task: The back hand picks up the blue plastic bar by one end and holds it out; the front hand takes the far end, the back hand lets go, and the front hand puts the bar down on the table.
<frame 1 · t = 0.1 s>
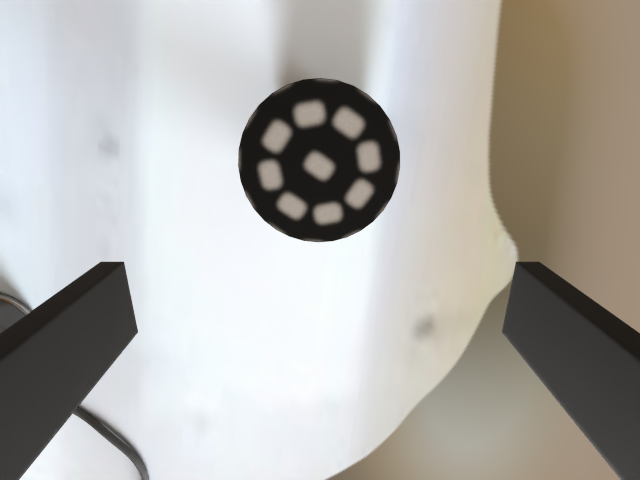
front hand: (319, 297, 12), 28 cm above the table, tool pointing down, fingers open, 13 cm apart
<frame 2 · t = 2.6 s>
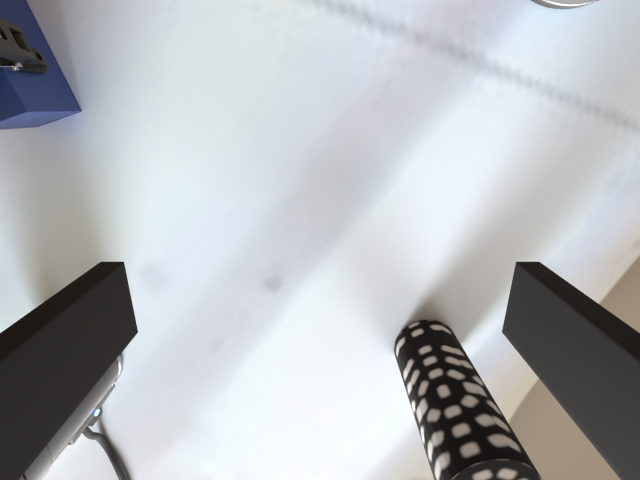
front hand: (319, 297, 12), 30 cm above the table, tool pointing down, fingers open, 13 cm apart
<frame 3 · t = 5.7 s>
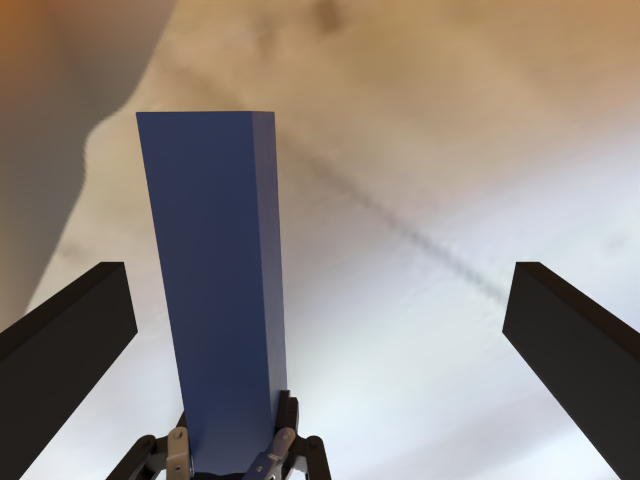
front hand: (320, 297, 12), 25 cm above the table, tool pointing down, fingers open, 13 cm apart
bar: (247, 284, 28), point 10 cm above the table, touching back hand
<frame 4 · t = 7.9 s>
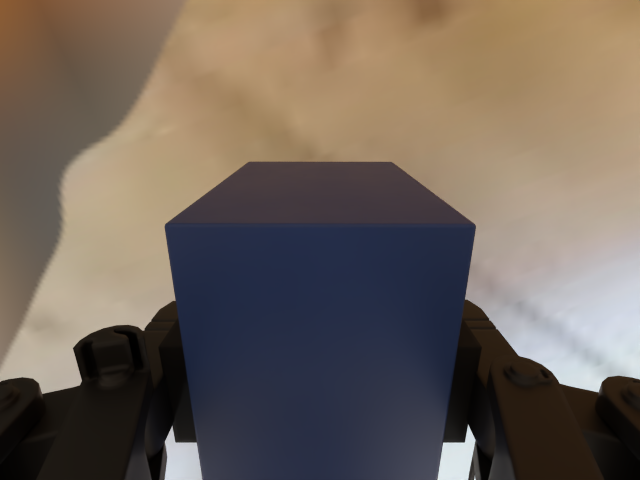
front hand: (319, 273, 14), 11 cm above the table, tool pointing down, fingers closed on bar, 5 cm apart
bar: (320, 422, 18), point 10 cm above the table, touching front hand, back hand
when the back hand's fingers open (14 cm above the table, at t = 8.8 s): bar stays where it is, held by the front hand.
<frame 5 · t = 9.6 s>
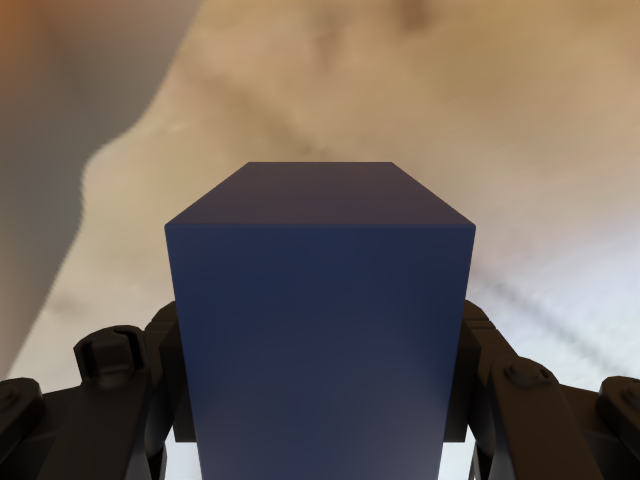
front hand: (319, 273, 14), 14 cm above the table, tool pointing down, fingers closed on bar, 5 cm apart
bar: (320, 422, 18), point 13 cm above the table, touching front hand
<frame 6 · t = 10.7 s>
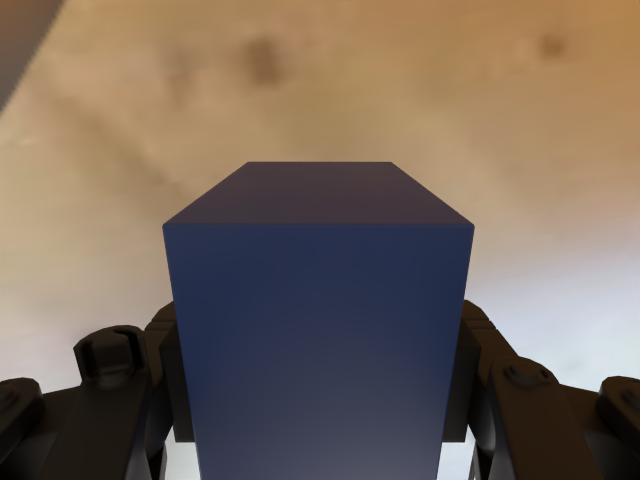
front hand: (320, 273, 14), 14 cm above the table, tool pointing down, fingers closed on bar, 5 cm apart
bar: (319, 422, 18), point 13 cm above the table, touching front hand
when the front hand's fingers open (2 cm above the table, at t = 13.7 s): bar drops 1 cm, on the table.
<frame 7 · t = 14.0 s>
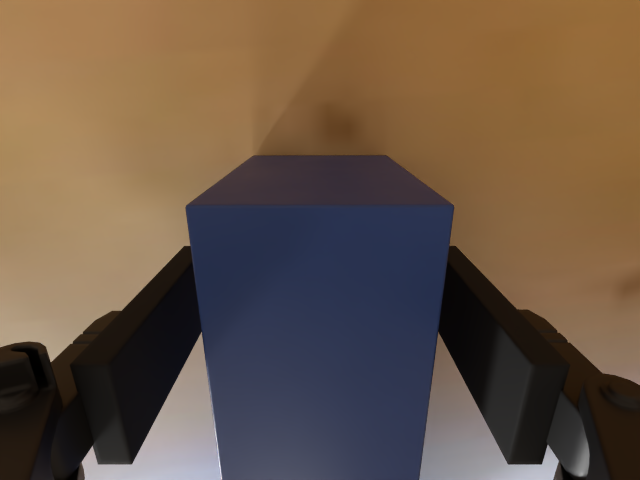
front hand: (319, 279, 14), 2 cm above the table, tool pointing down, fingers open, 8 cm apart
bar: (320, 402, 19), on the table
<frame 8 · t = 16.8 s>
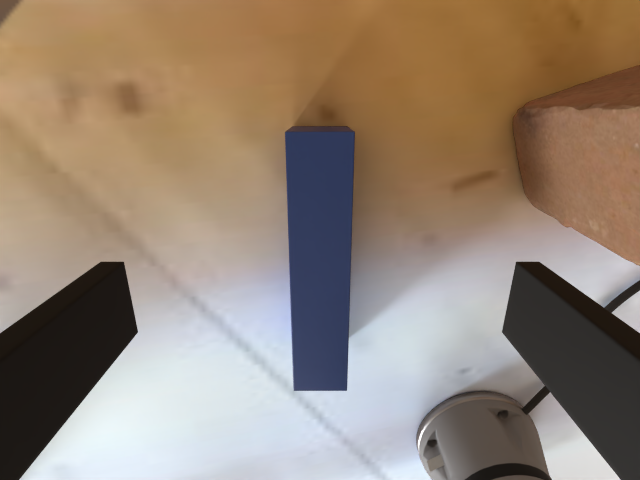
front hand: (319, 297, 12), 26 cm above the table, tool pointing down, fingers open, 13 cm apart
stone: (616, 129, 36), on the table
bar: (320, 246, 40), on the table
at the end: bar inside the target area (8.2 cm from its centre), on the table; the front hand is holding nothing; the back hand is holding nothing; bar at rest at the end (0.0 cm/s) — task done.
